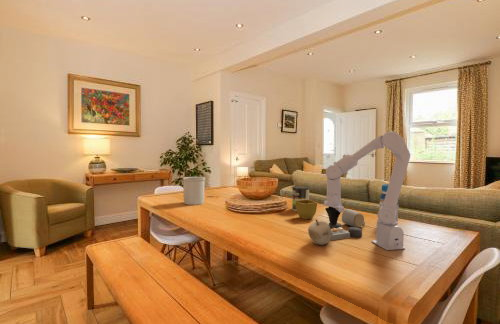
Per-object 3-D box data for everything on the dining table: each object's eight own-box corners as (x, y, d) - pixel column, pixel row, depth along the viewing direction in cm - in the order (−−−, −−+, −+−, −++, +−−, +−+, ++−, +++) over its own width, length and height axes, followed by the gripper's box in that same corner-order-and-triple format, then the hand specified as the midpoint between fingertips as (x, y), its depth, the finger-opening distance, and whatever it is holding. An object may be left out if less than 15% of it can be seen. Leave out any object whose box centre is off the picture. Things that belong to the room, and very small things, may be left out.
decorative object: (335, 244, 107) (335, 219, 106) (323, 250, 101) (323, 223, 100) (316, 238, 113) (316, 215, 113) (303, 244, 107) (303, 219, 107)
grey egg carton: (349, 238, 115) (350, 229, 115) (330, 241, 112) (331, 232, 111) (338, 233, 122) (338, 225, 122) (320, 236, 118) (320, 227, 118)
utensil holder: (198, 200, 197) (198, 176, 196) (209, 203, 186) (209, 177, 185) (179, 202, 188) (179, 177, 187) (189, 206, 176) (189, 179, 176)
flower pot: (317, 219, 145) (317, 202, 144) (303, 220, 141) (303, 203, 141) (308, 215, 153) (308, 199, 152) (294, 216, 149) (294, 200, 149)
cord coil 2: (364, 237, 115) (364, 230, 115) (352, 238, 114) (352, 231, 114) (357, 233, 121) (357, 226, 121) (345, 234, 120) (345, 227, 120)
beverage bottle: (400, 228, 127) (402, 186, 126) (381, 227, 129) (382, 186, 128) (395, 223, 135) (396, 184, 134) (376, 223, 137) (377, 183, 136)
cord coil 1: (343, 232, 123) (343, 225, 123) (331, 232, 122) (332, 226, 122) (337, 228, 128) (337, 222, 128) (326, 229, 127) (326, 222, 127)
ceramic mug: (354, 229, 127) (354, 212, 126) (340, 224, 134) (341, 209, 134) (369, 226, 132) (370, 210, 131) (355, 222, 139) (356, 207, 139)
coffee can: (298, 212, 160) (298, 188, 159) (288, 208, 169) (289, 186, 168) (312, 210, 164) (313, 187, 163) (302, 207, 173) (302, 185, 172)
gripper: (317, 191, 122) (317, 220, 123) (332, 196, 108) (332, 230, 108) (332, 190, 123) (332, 220, 124) (349, 196, 109) (348, 229, 110)
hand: (333, 224), depth 116 cm, fingers closed
